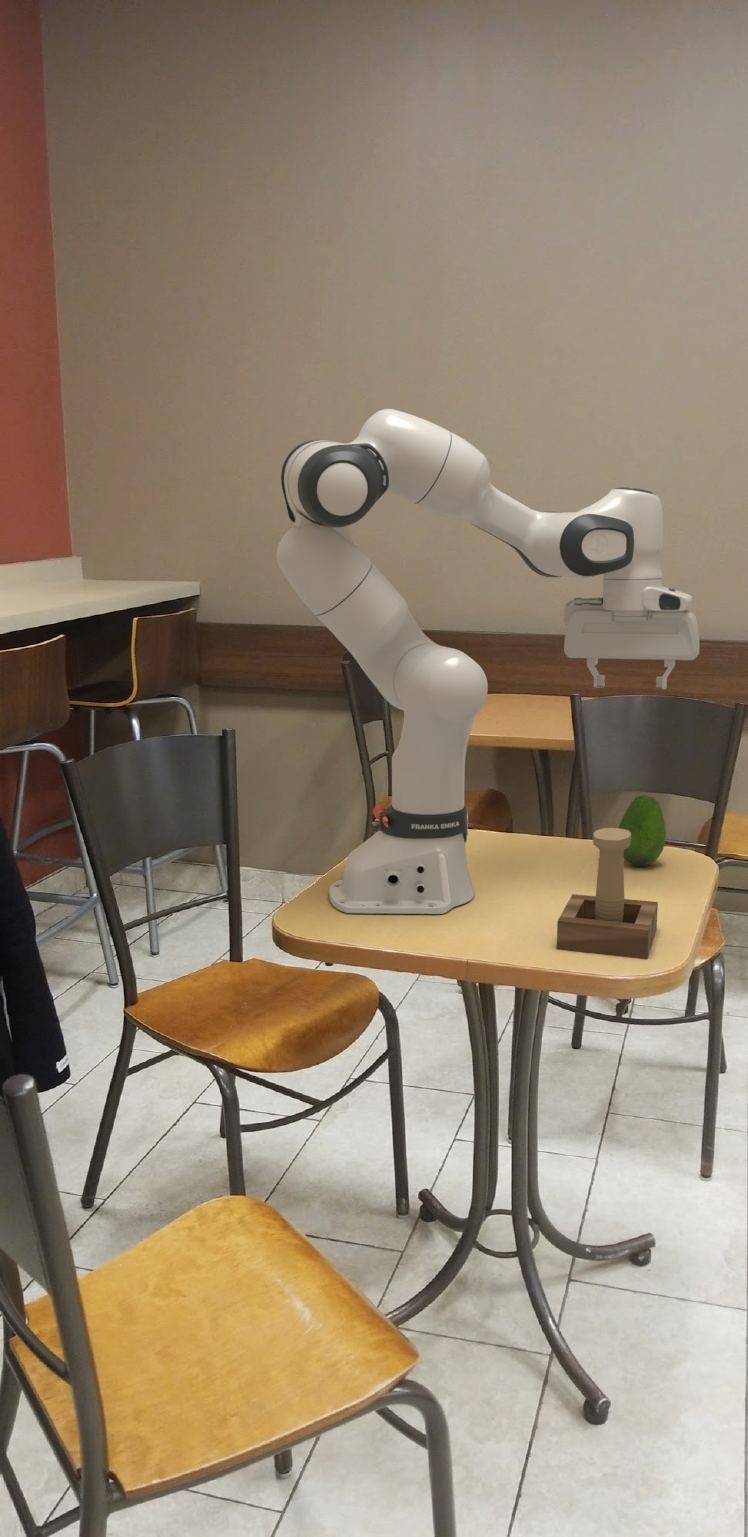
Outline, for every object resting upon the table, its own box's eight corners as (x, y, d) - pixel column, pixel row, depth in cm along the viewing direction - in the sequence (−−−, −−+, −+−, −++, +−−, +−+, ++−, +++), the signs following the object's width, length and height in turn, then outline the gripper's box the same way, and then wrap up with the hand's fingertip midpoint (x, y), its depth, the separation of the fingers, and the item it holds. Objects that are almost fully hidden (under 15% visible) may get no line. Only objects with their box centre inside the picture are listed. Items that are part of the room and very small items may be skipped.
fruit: (611, 858, 197) (613, 790, 195) (657, 857, 198) (659, 789, 195) (622, 872, 190) (624, 801, 187) (669, 871, 190) (673, 800, 187)
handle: (630, 933, 161) (634, 830, 158) (620, 948, 156) (624, 841, 152) (596, 928, 163) (600, 826, 160) (585, 943, 158) (588, 838, 154)
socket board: (647, 958, 152) (648, 930, 151) (556, 948, 156) (557, 920, 155) (656, 929, 163) (657, 902, 162) (571, 920, 167) (572, 894, 166)
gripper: (560, 598, 175) (559, 688, 178) (699, 599, 169) (695, 693, 172) (567, 596, 181) (566, 683, 184) (702, 596, 174) (698, 687, 177)
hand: (629, 688), depth 178 cm, fingers open, 8 cm apart
